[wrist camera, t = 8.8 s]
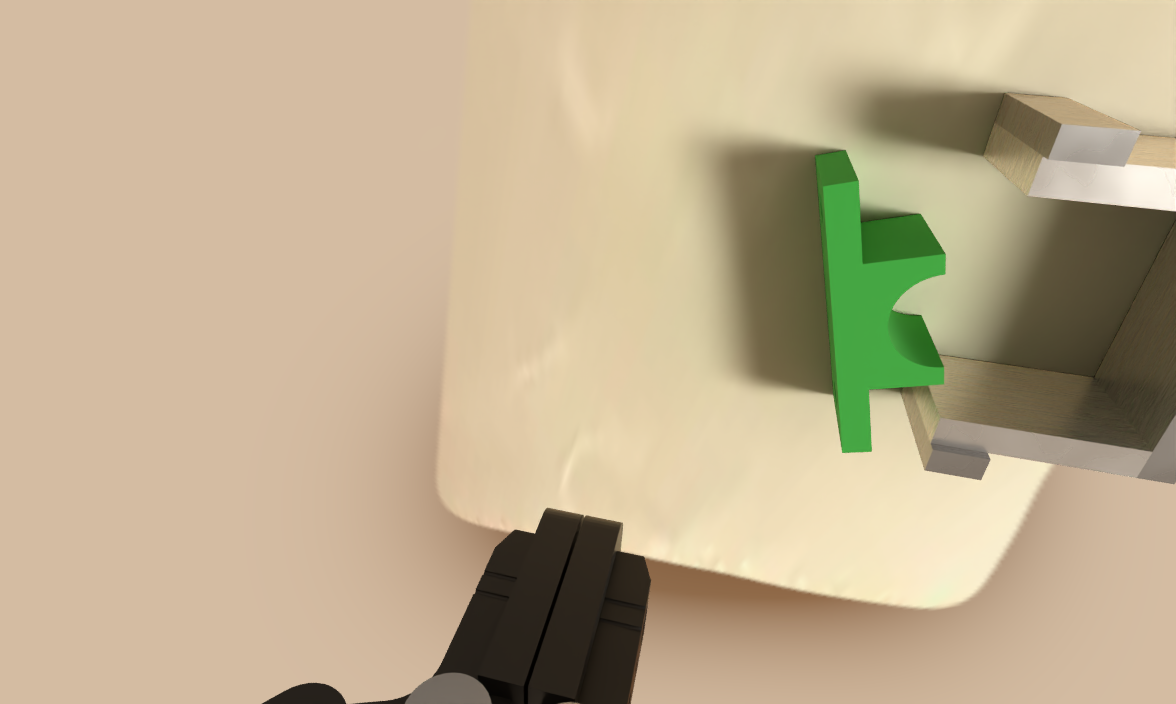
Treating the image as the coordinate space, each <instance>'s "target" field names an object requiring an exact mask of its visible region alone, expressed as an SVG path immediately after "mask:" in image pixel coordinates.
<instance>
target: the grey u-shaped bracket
mask: <svg viewBox="0 0 1176 704" xmlns="http://www.w3.org/2000/svg"><path fill="white" fill-rule="evenodd" d="M1140 132H1141V131H1140V130H1138V129H1136V128H1134V127H1131V126H1129V125H1127V124H1125V123H1122V122H1120V121H1118V120H1116V119H1113V118H1111V117H1109V116H1107V115H1105V114H1102V113H1100V112H1098V111H1096V110H1093V109H1091V108H1089V107H1087V106H1084V105H1082V104H1080V103H1078V102H1076V101H1073V100H1071V99H1069V98H1063V97H1050V96H1037V95H1024V94H1012V93H1005V94H1004V97H1003V100H1002V103H1001V106H1000V109H999V111H998V114H997V117H996V120H995V123H994V126H993V129H992V132H991V135H990V137H989V140H988V143H987V146H986V149H985V152H984V155H983V157H985V158H986V159H987V160H988V161H989V162H990V163H991V164H992V165H994V166H995V167H996V168H997V169H998V170H999V171H1000V172H1001V173H1002V174H1004V175H1005V176H1006V177H1007V178H1008V179H1009V180H1010V181H1011V182H1012V183H1014V184H1015V185H1016V186H1017V187H1018V188H1019V189H1020V190H1021V191H1023V192H1024V193H1025V194H1026V195H1027V196H1032V197H1042V198H1052V199H1061V200H1071V201H1081V202H1090V203H1100V204H1110V205H1119V206H1129V207H1139V208H1149V209H1158V210H1168V211H1176V138H1170V137H1159V136H1147V135H1139V134H1140ZM939 356H940V359H941V361H942V363H943V366H944V384H943V385H929V386H914V387H903V389H902V392H901V395H902V398H903V402H904V405H905V408H906V411H907V415H908V418H909V421H910V424H911V428H912V431H913V434H914V437H915V441H916V444H917V447H918V450H919V454H920V457H921V460H922V463H923V467H924V470H926V471H932V472H937V473H943V474H949V475H955V476H960V477H966V478H972V479H978V480H981V479H982V477H983V475H984V472H985V470H986V468H987V466H988V464H989V461H990V458H989V455H988V453H991V454H997V455H1003V456H1009V457H1015V458H1021V459H1027V460H1033V461H1039V462H1045V463H1051V464H1057V465H1063V466H1069V467H1075V468H1081V469H1087V470H1093V471H1099V472H1105V473H1111V474H1117V475H1123V476H1129V477H1135V478H1141V479H1147V480H1153V481H1159V482H1165V483H1171V484H1175V482H1176V221H1175V223H1174V225H1173V226H1172V228H1171V230H1170V232H1169V234H1168V236H1167V238H1166V240H1165V242H1164V244H1163V246H1162V248H1161V250H1160V251H1159V253H1158V255H1157V257H1156V259H1155V261H1154V263H1153V265H1152V267H1151V269H1150V271H1149V273H1148V275H1147V276H1146V278H1145V280H1144V282H1143V284H1142V286H1141V288H1140V290H1139V292H1138V294H1137V296H1136V298H1135V300H1134V301H1133V303H1132V305H1131V307H1130V309H1129V311H1128V313H1127V315H1126V317H1125V319H1124V321H1123V323H1122V325H1121V327H1120V328H1119V330H1118V332H1117V334H1116V336H1115V338H1114V340H1113V342H1112V344H1111V346H1110V348H1109V350H1108V352H1107V353H1106V355H1105V357H1104V359H1103V361H1102V363H1101V365H1100V367H1099V369H1098V371H1097V373H1096V375H1095V377H1088V376H1081V375H1074V374H1067V373H1060V372H1053V371H1046V370H1039V369H1032V368H1026V367H1019V366H1012V365H1005V364H998V363H991V362H984V361H977V360H970V359H964V358H957V357H950V356H943V355H939Z"/></svg>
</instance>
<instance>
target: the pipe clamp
mask: <svg viewBox="0 0 1176 704" xmlns="http://www.w3.org/2000/svg"><path fill="white" fill-rule="evenodd" d="M815 162H816V175H817V188H818V201H819V214H820V227H821V240H822V253H823V266H824V279H825V292H826V305H827V318H828V331H829V344H830V357H831V370H832V383H833V396H834V402H835V409H836V415H837V422H838V428H839V434H840V441H841V447H842V453H850V452H872V447H871V426H870V405H869V390H871V389H885V388H900V387H914V386H929V385H943V384H944V366H943V363H942V361H941V359H940V356H939V354H938V352H937V350H936V347H935V345H934V343H933V341H932V338H931V336H930V334H929V332H928V329H927V327H926V325H925V323H924V320H923V318H922V316H921V315H905V314H901V313H898V312H895V311H893V310H892V308H893V306H894V305H895V303H896V301H897V300H898V299H899V298H900V296H901V295H902V294H903V293H904V292H906V291H907V290H908V289H909V288H911V287H912V286H914V285H915V284H917V283H919V282H921V281H923V280H925V279H928V278H931V277H934V276H938V275H944V274H945V261H946V254H945V252H944V251H943V249H942V247H941V246H940V244H939V243H938V241H937V239H936V238H935V236H934V235H933V233H932V231H931V230H930V228H929V227H928V225H927V223H926V222H925V220H924V218H923V217H922V215H921V214H916V215H909V216H902V217H895V218H887V219H880V220H873V221H866V222H861V220H860V199H859V180H858V178H857V176H856V173H855V171H854V169H853V166H852V164H851V162H850V159H849V157H848V155H847V152H846V150H844V151H838V152H832V153H826V154H821V155H815Z"/></svg>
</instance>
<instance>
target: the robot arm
mask: <svg viewBox="0 0 1176 704" xmlns="http://www.w3.org/2000/svg"><path fill="white" fill-rule="evenodd" d="M622 531H623V523H621V522H616V521H611V520H606V519H601V518H596V517H591V516H585V518H584V515H580V514H576V513H571V512H566V511H561V510H556V509H551V508H546V510H545V511H544V513H543V516H542V518H541V520H540V523H539V525H538V528H537V530H536V533H535V534H534V533H529V532H524V531H520V530H514V531H513V532H512V533H511V534H509V535H508V536H507V537H506V538H505V539H504V540H503V541H502V542H501V543H500V544H499V545H497V546H496V547H495V549H494V551H493V554H492V556H491V558H490V560H489V562H488V564H487V566H486V569H485V572H484V575H482V577H481V580H480V581H479V584H478V586H477V588H476V592H475V594H473V597H472V599H471V601H470V603H469V605H468V607H467V610H466V612H465V614H464V616H463V618H462V620H461V623H460V625H459V627H458V629H457V631H456V633H455V635H454V638H453V640H452V642H451V644H450V646H449V648H448V650H447V653H446V655H445V657H444V659H443V661H442V663H441V665H440V667H439V669H438V670H437V672H436V673H435V674H434V675H433V677H432V678H430V679H428V680H426V681H425V682H423V683H422V684H421V685H419V686H418V687H417V688H416V689H415V690H414V691H413V692H412V693H411V694H409V695H406V696H404V697H401V698H398V699H394V700H388V701H378V702H367V703H356V704H631V698H632V693H633V688H634V682H635V677H636V672H637V667H638V661H639V656H640V651H641V645H642V640H643V635H644V628H645V620H646V614H647V606H648V599H649V592H650V583H651V580H650V576H649V572H648V569H647V566H646V562H645V558H644V557H643V556H639V555H634V554H629V553H624V552H620V551H621V541H622ZM262 704H346V702H345V700H344V698H343V696H342V695H341V694H340V693H339V692H338V691H337V690H336V689H334V688H333V687H331V686H329V685H326V684H320V683H307V684H302V685H298V686H295V687H292V688H290V689H288V690H286V691H284V692H282V693H280V694H279V695H277V696H275V697H273V698H271V699H269V700H268V701H266V702H264V703H262Z"/></svg>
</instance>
